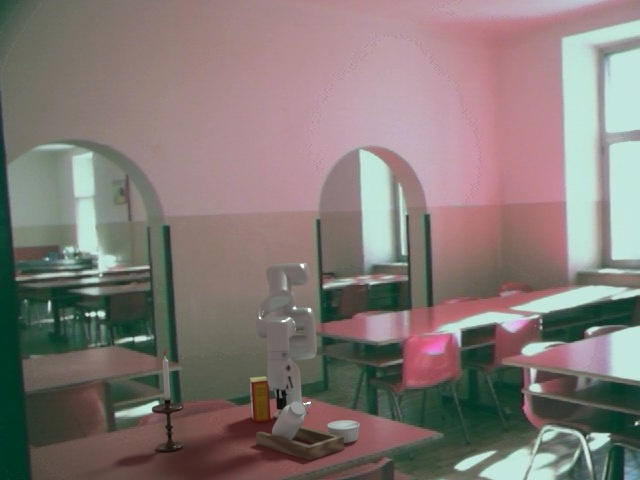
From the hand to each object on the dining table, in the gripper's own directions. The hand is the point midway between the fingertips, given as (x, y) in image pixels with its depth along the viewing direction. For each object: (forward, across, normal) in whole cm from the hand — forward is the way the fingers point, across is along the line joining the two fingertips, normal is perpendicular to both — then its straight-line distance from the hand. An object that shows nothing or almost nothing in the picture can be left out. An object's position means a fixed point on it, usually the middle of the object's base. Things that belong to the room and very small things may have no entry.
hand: (281, 408), depth 245 cm
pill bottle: (+9, +1, 0) cm, 9 cm away
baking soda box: (+11, +32, -14) cm, 37 cm away
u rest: (+12, -8, -1) cm, 14 cm away
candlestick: (+12, +27, +29) cm, 41 cm away
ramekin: (+12, -14, -16) cm, 24 cm away
